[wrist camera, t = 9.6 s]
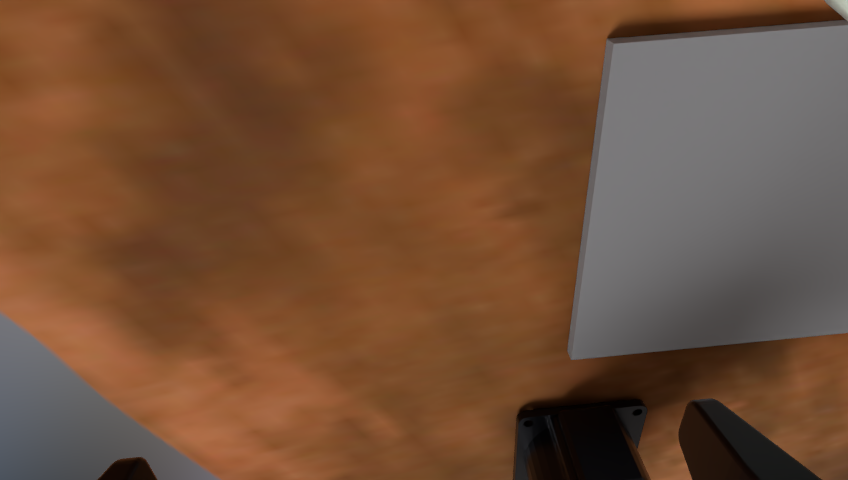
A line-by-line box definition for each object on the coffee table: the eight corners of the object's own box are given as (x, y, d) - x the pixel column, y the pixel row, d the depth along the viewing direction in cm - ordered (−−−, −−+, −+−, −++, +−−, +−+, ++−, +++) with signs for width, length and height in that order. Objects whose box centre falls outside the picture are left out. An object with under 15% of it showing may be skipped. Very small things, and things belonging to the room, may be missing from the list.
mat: (861, 321, 26) (870, 330, 26) (567, 350, 26) (571, 360, 25) (1027, 5, 18) (1046, 8, 18) (606, 38, 18) (613, 43, 17)
